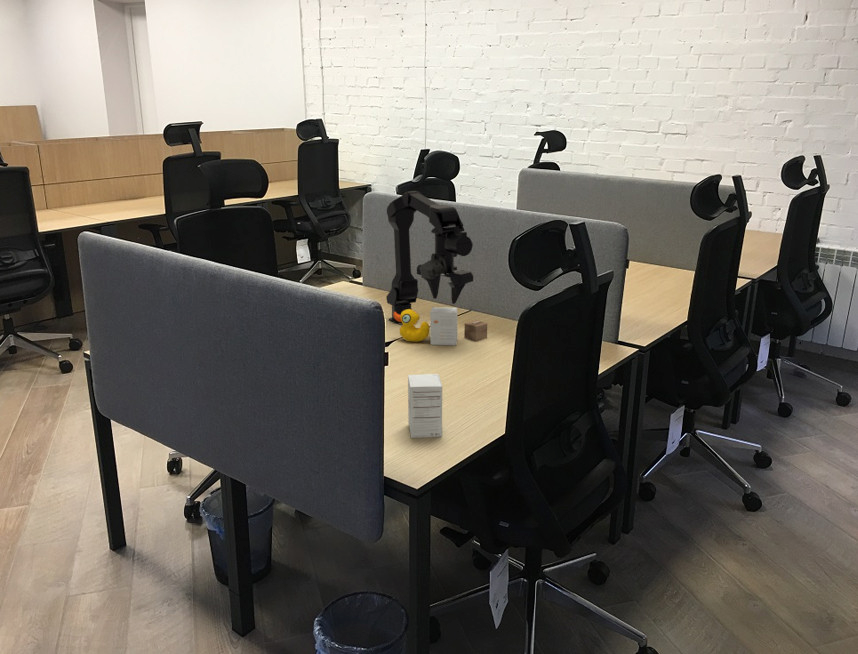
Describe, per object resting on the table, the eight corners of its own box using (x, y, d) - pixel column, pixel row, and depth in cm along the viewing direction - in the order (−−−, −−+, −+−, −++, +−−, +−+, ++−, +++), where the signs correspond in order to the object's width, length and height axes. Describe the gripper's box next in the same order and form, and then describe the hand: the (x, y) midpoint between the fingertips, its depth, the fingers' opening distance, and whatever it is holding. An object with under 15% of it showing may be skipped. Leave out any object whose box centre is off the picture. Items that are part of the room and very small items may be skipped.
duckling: (391, 342, 230) (390, 310, 226) (396, 336, 234) (396, 306, 231) (426, 345, 227) (426, 313, 224) (431, 339, 232) (431, 308, 228)
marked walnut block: (463, 338, 233) (464, 321, 232) (474, 334, 237) (475, 318, 235) (476, 342, 230) (476, 325, 228) (487, 338, 233) (487, 322, 232)
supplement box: (407, 424, 175) (407, 374, 171) (439, 423, 176) (439, 373, 172) (409, 438, 168) (409, 386, 164) (442, 437, 169) (443, 385, 165)
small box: (457, 339, 232) (458, 307, 228) (456, 345, 226) (456, 312, 223) (431, 338, 232) (431, 306, 229) (430, 345, 227) (430, 311, 224)
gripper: (403, 249, 222) (403, 300, 226) (447, 259, 209) (447, 312, 214) (430, 244, 229) (430, 293, 234) (474, 253, 216) (474, 305, 221)
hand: (444, 301), depth 225 cm, fingers open, 8 cm apart
